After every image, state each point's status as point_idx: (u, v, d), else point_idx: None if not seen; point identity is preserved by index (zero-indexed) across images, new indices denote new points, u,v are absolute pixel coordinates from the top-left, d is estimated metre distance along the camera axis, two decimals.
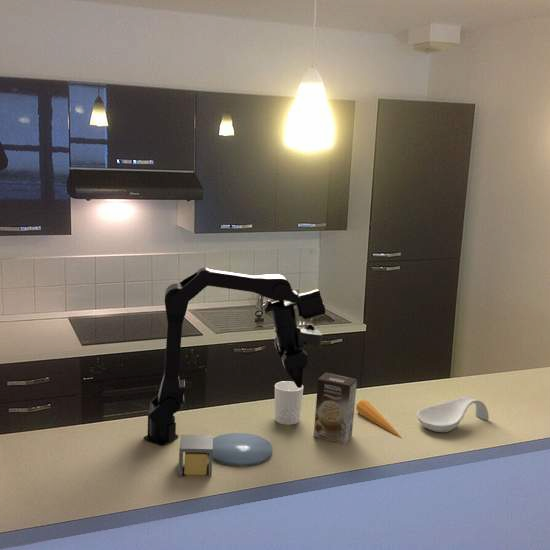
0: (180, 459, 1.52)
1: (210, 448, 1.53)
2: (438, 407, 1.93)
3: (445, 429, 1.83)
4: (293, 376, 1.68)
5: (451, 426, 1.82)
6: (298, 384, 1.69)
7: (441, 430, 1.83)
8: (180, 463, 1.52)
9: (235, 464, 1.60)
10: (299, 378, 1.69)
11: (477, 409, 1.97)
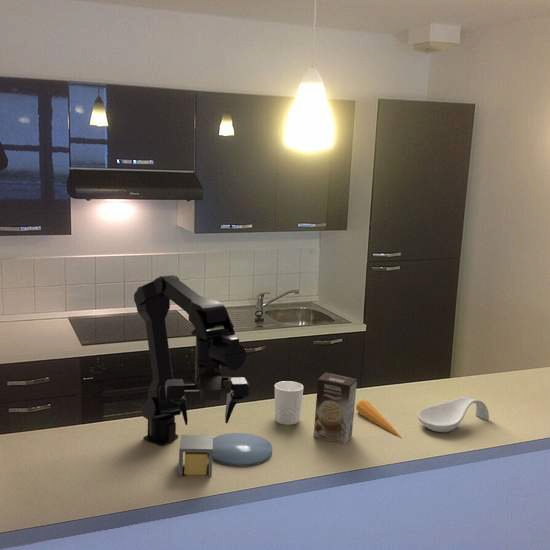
0: (180, 459, 1.52)
1: (210, 448, 1.53)
2: (439, 407, 1.93)
3: (446, 429, 1.83)
4: None
5: (452, 426, 1.82)
6: None
7: (442, 430, 1.83)
8: (180, 463, 1.52)
9: (235, 464, 1.60)
10: (182, 413, 1.53)
11: (477, 409, 1.97)
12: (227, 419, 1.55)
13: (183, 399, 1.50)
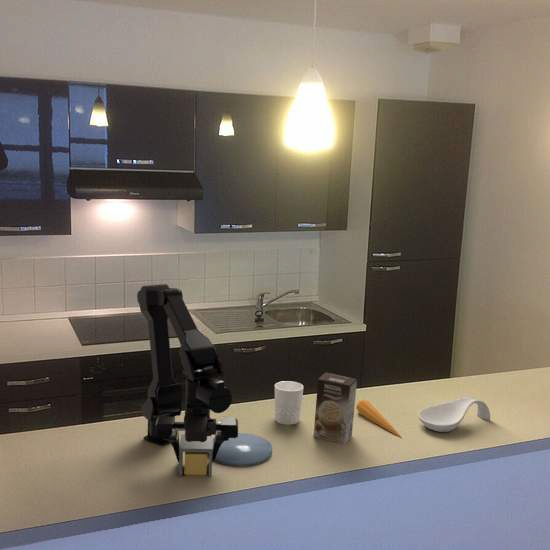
0: (180, 459, 1.52)
1: (210, 448, 1.53)
2: (440, 407, 1.93)
3: (446, 429, 1.83)
4: None
5: (452, 426, 1.83)
6: None
7: (442, 430, 1.83)
8: (180, 463, 1.52)
9: (235, 464, 1.60)
10: None
11: (479, 409, 1.97)
12: (213, 458, 1.56)
13: (174, 437, 1.52)
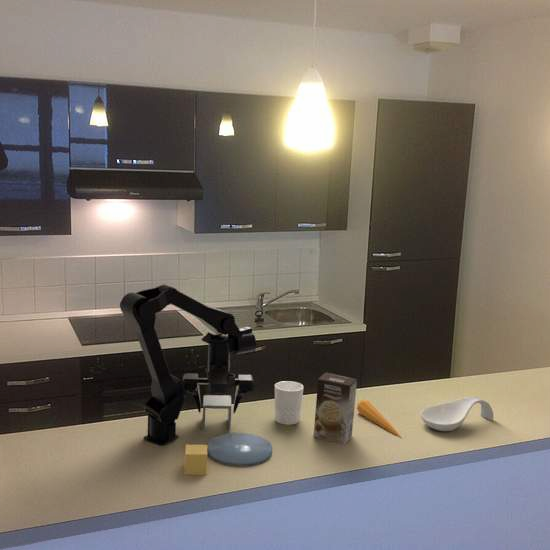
0: (203, 414, 1.78)
1: (229, 405, 1.79)
2: (443, 407, 1.93)
3: (448, 428, 1.83)
4: None
5: (454, 425, 1.83)
6: (198, 408, 1.82)
7: (444, 429, 1.84)
8: (203, 418, 1.78)
9: (235, 464, 1.60)
10: (196, 403, 1.81)
11: (482, 409, 1.97)
12: (234, 410, 1.82)
13: (196, 390, 1.78)
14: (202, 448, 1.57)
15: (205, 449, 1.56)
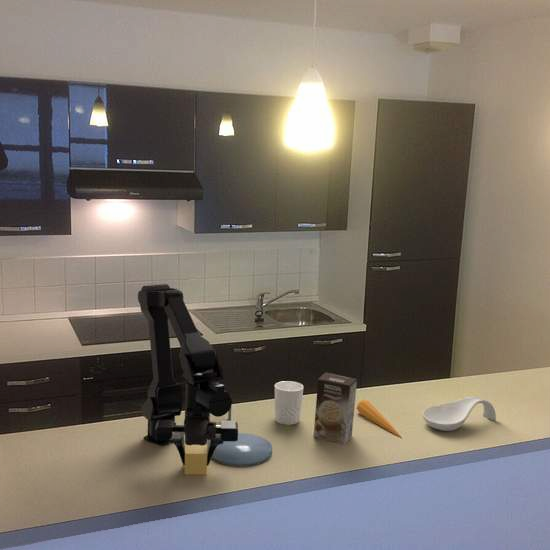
0: None
1: None
2: (445, 406, 1.94)
3: (449, 428, 1.84)
4: None
5: (455, 425, 1.83)
6: None
7: (445, 429, 1.84)
8: None
9: (235, 464, 1.60)
10: (180, 454, 1.56)
11: (485, 409, 1.97)
12: (208, 462, 1.56)
13: (180, 441, 1.53)
14: (202, 448, 1.57)
15: (205, 448, 1.56)
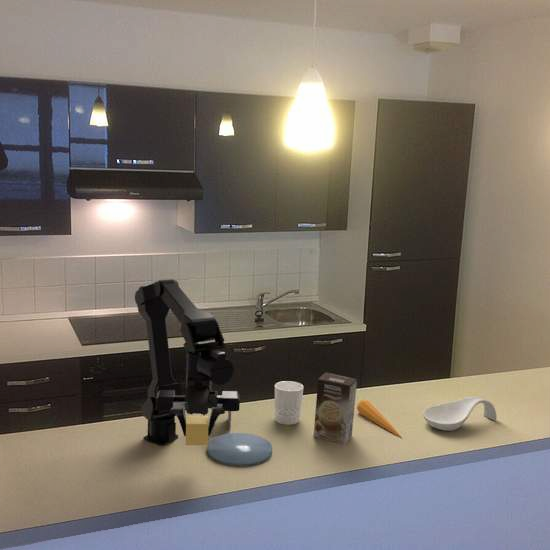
0: (203, 414, 1.78)
1: None
2: (445, 406, 1.94)
3: (450, 427, 1.84)
4: None
5: (456, 425, 1.83)
6: None
7: (446, 428, 1.84)
8: None
9: (235, 464, 1.60)
10: (181, 424, 1.54)
11: (485, 409, 1.97)
12: (209, 432, 1.55)
13: (181, 411, 1.51)
14: (203, 419, 1.55)
15: (206, 419, 1.55)
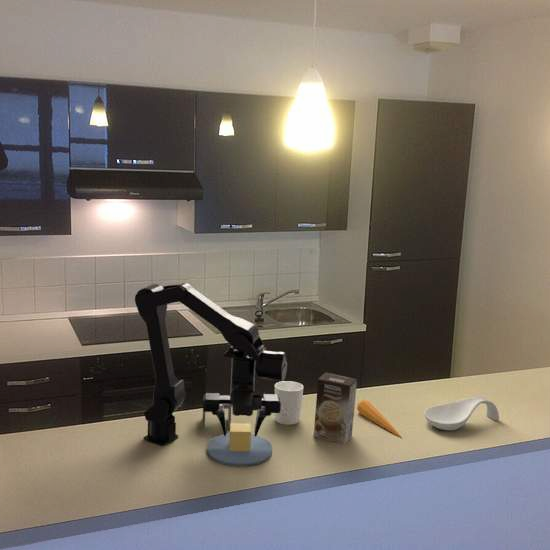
0: (203, 414, 1.78)
1: None
2: (447, 406, 1.94)
3: (451, 427, 1.84)
4: None
5: (457, 425, 1.84)
6: (223, 431, 1.66)
7: (447, 428, 1.84)
8: (203, 418, 1.78)
9: (235, 464, 1.60)
10: (221, 425, 1.66)
11: (488, 409, 1.97)
12: (256, 433, 1.66)
13: (222, 412, 1.63)
14: (246, 427, 1.67)
15: (248, 427, 1.67)
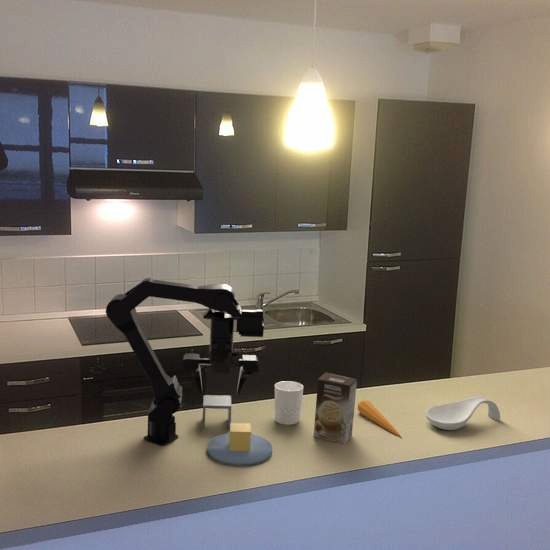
0: (203, 414, 1.78)
1: (229, 405, 1.79)
2: (449, 406, 1.94)
3: (452, 427, 1.84)
4: None
5: (458, 424, 1.84)
6: None
7: (448, 428, 1.85)
8: (203, 418, 1.78)
9: (235, 464, 1.60)
10: None
11: (489, 409, 1.97)
12: (238, 392, 1.70)
13: (197, 371, 1.67)
14: (246, 427, 1.67)
15: (248, 427, 1.67)
